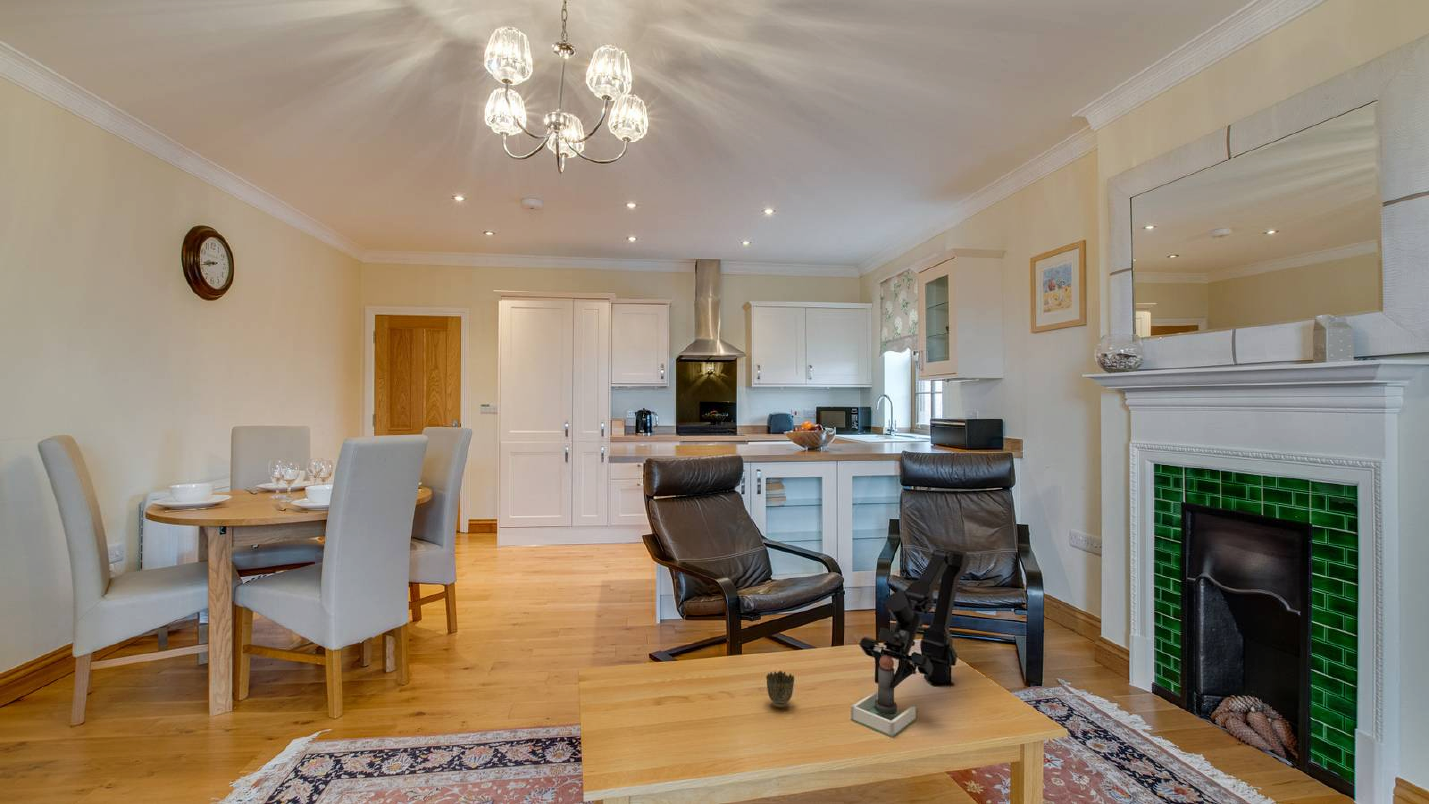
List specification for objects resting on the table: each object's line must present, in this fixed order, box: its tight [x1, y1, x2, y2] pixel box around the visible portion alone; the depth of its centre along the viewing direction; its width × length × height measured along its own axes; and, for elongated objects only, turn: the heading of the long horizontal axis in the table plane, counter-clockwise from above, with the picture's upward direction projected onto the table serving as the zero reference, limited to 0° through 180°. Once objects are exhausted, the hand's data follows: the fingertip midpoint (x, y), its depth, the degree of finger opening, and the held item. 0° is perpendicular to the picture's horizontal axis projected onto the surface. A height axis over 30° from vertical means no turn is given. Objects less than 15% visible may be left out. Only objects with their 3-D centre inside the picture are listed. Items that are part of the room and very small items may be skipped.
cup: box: [765, 670, 795, 710], centre depth 167 cm, size 8×7×8 cm
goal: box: [850, 691, 917, 738], centre depth 160 cm, size 12×12×4 cm
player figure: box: [875, 655, 898, 715], centre depth 161 cm, size 6×6×14 cm
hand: (883, 685), depth 160 cm, fingers closed on player figure, 4 cm apart
